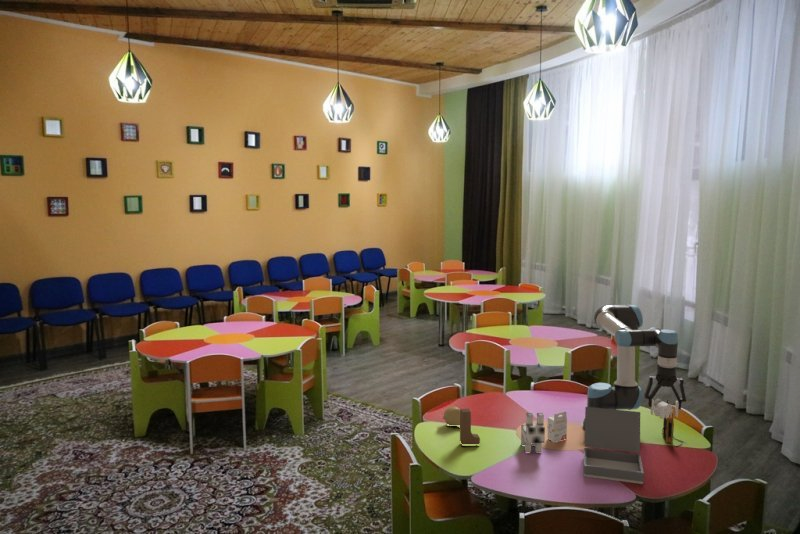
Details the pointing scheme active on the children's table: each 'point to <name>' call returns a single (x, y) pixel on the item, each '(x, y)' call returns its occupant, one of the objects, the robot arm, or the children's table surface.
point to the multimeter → (669, 429)
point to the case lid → (612, 429)
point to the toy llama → (533, 432)
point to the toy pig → (452, 416)
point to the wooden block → (467, 428)
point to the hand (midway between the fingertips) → (664, 414)
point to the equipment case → (613, 465)
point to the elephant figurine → (662, 409)
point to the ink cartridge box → (557, 427)
